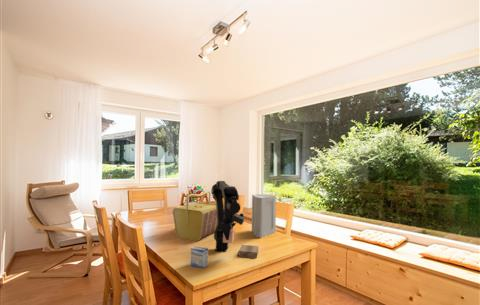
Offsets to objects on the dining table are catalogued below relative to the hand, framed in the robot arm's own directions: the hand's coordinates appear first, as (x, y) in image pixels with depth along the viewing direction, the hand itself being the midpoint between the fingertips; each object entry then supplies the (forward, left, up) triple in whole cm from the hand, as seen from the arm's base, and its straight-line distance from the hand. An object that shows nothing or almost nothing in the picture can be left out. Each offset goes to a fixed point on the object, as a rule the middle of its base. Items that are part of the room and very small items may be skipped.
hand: (228, 238), depth 129 cm
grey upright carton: (+14, +50, -11) cm, 53 cm away
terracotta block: (0, 0, -2) cm, 2 cm away
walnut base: (+10, +9, -11) cm, 18 cm away
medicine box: (-13, -11, -11) cm, 20 cm away
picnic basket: (-30, +37, -11) cm, 49 cm away
